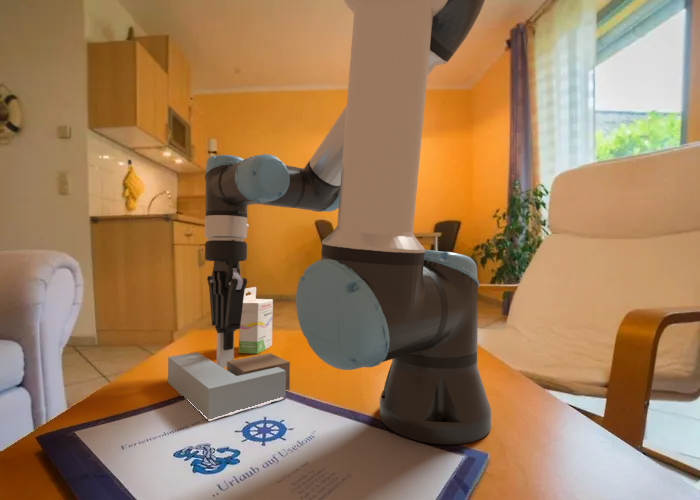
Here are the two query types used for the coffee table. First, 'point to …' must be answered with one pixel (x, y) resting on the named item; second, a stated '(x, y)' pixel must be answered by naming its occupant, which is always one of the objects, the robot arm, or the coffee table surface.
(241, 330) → the ink box
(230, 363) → the walnut block
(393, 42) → the robot arm
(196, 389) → the gray l-shaped block
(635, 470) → the coffee table surface
